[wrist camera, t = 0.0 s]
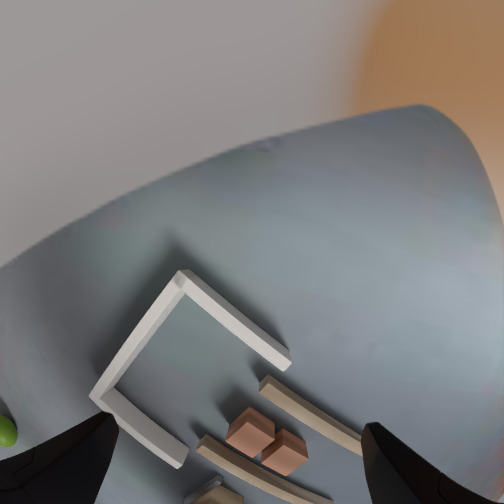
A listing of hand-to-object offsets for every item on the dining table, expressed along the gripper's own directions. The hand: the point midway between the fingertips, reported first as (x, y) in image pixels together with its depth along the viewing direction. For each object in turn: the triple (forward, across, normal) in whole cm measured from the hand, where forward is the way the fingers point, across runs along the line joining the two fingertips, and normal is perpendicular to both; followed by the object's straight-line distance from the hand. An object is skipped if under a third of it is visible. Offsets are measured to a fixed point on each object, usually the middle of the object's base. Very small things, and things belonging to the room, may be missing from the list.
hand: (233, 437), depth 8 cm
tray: (+14, +6, +8) cm, 17 cm away
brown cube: (+12, -3, +15) cm, 20 cm away
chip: (+13, 0, +13) cm, 18 cm away
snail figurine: (+10, +38, +23) cm, 46 cm away
